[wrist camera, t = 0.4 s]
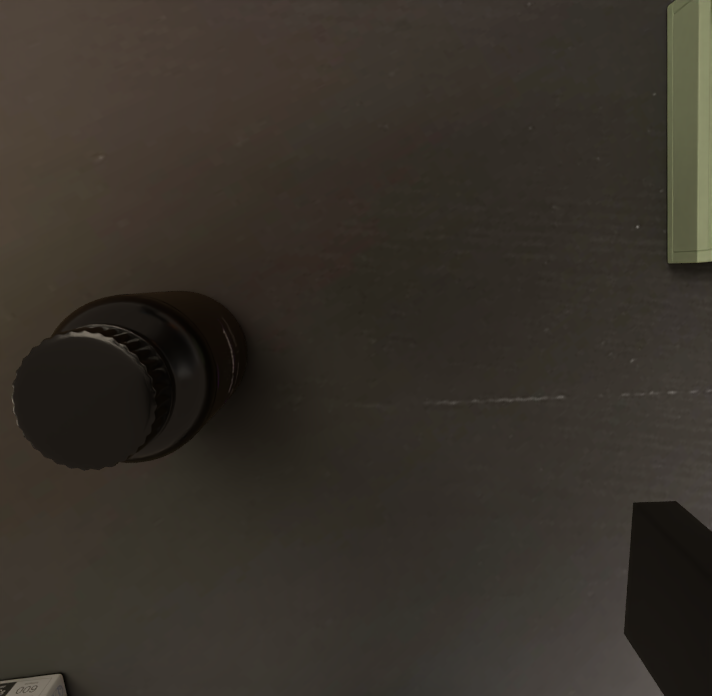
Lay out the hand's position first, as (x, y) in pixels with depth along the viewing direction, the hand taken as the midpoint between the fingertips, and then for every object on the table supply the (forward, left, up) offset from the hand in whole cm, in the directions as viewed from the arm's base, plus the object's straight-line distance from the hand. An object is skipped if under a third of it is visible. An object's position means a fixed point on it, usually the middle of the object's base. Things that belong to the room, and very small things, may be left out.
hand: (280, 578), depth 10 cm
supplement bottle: (-2, -7, -20) cm, 21 cm away
